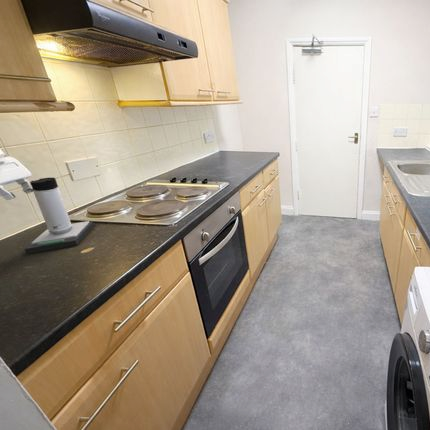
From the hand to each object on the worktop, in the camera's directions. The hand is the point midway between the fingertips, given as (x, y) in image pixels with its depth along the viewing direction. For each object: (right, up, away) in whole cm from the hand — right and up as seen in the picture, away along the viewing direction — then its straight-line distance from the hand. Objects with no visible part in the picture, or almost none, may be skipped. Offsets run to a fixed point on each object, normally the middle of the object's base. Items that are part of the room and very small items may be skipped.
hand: (21, 195), depth 85 cm
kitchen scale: (+1, -15, +13) cm, 20 cm away
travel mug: (0, -12, +13) cm, 18 cm away
